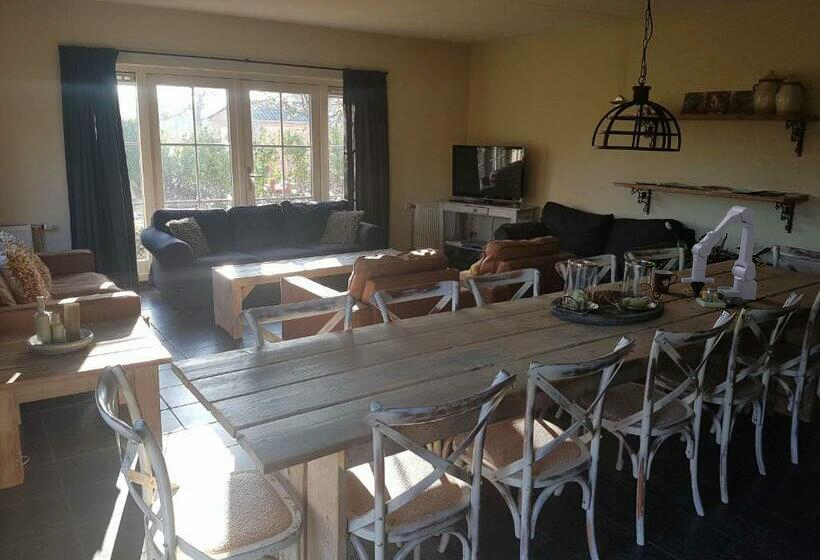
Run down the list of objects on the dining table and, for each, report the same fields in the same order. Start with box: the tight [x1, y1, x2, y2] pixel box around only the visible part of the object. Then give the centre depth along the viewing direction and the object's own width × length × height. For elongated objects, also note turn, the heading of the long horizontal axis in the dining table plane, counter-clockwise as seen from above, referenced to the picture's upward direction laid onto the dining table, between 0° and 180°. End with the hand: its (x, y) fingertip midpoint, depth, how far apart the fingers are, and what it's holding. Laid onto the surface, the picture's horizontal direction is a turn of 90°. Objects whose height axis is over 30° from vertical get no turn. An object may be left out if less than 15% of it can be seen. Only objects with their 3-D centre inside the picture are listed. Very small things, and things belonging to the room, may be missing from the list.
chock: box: [701, 290, 718, 298], centre depth 308 cm, size 5×5×4 cm
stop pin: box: [707, 287, 716, 303], centre depth 300 cm, size 3×3×7 cm
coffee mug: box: [653, 269, 679, 294], centre depth 323 cm, size 12×9×10 cm
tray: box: [695, 297, 727, 309], centre depth 300 cm, size 10×10×2 cm
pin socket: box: [682, 288, 703, 298], centre depth 319 cm, size 7×7×2 cm
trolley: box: [714, 286, 744, 307], centre depth 304 cm, size 9×12×6 cm
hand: (695, 297), depth 309 cm, fingers closed
